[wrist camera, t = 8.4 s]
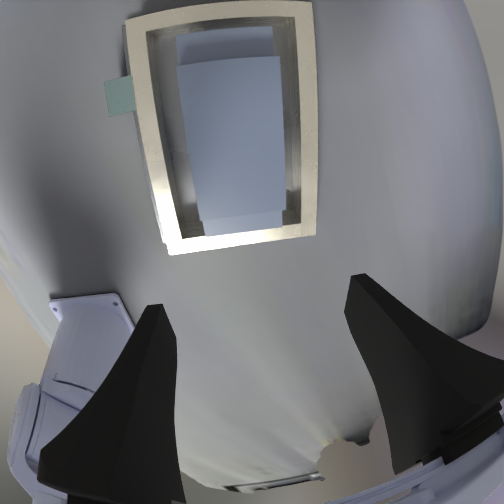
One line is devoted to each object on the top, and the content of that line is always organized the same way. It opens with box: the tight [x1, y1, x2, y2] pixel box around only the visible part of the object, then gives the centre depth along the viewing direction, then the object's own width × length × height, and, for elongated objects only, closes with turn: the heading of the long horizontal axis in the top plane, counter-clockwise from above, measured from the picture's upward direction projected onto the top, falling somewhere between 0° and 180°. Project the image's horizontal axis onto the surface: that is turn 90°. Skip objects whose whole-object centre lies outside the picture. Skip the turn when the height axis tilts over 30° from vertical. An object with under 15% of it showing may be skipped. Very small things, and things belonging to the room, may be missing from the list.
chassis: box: [104, 0, 319, 255], centre depth 15 cm, size 15×12×3 cm
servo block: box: [175, 26, 286, 238], centre depth 13 cm, size 10×4×6 cm, turn 4°
